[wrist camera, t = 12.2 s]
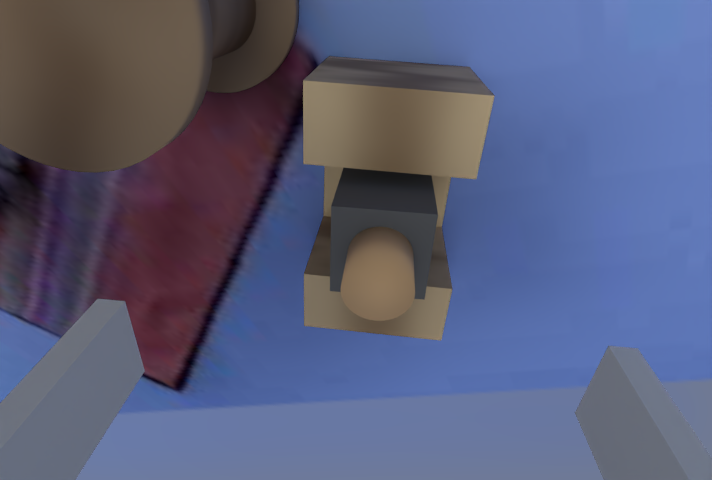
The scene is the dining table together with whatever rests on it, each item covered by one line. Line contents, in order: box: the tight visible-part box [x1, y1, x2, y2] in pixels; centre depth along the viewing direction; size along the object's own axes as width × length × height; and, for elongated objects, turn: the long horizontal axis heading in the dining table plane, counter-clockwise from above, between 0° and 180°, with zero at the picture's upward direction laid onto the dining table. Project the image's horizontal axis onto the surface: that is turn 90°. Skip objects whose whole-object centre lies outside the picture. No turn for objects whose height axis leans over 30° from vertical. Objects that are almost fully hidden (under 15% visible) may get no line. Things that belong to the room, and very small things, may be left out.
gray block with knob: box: [330, 168, 438, 321], centre depth 19 cm, size 4×4×10 cm
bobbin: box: [0, 0, 299, 172], centre depth 16 cm, size 8×8×12 cm
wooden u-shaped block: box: [303, 56, 494, 340], centre depth 22 cm, size 7×12×7 cm, turn 177°
